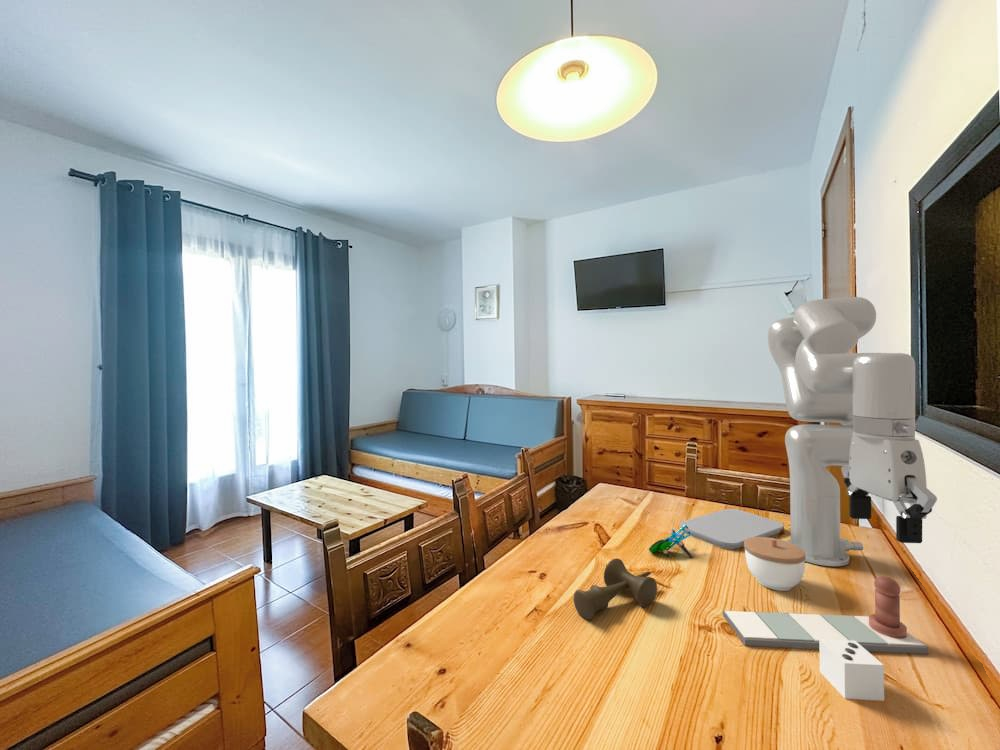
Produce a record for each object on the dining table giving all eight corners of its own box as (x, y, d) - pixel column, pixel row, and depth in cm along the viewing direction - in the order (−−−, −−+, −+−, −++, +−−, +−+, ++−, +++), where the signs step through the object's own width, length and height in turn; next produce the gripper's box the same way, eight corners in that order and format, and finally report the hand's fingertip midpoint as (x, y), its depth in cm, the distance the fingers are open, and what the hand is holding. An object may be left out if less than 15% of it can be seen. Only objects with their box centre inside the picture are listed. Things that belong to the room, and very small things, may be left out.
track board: (884, 622, 71) (884, 615, 71) (928, 654, 63) (928, 646, 63) (723, 615, 74) (722, 609, 74) (745, 645, 66) (744, 638, 66)
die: (855, 673, 60) (855, 639, 60) (884, 701, 55) (883, 664, 55) (819, 671, 60) (819, 638, 60) (844, 699, 55) (844, 662, 55)
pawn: (890, 621, 70) (890, 570, 70) (915, 639, 65) (914, 585, 65) (861, 620, 70) (861, 570, 70) (884, 638, 66) (883, 584, 66)
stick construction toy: (681, 534, 105) (688, 518, 100) (701, 558, 100) (709, 542, 95) (643, 553, 102) (648, 537, 97) (662, 578, 97) (667, 563, 92)
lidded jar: (744, 566, 92) (743, 525, 92) (802, 578, 87) (801, 535, 87) (744, 588, 83) (744, 543, 83) (809, 603, 78) (809, 555, 78)
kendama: (563, 608, 79) (632, 575, 89) (600, 636, 70) (670, 597, 81) (563, 578, 78) (631, 549, 89) (599, 603, 70) (670, 568, 81)
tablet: (674, 531, 114) (674, 523, 114) (731, 514, 126) (731, 507, 126) (730, 554, 99) (730, 545, 99) (788, 532, 111) (788, 524, 111)
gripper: (961, 436, 58) (961, 554, 58) (866, 420, 75) (866, 511, 75) (903, 436, 58) (903, 552, 59) (822, 420, 76) (823, 510, 76)
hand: (882, 529), depth 67 cm, fingers open, 9 cm apart
